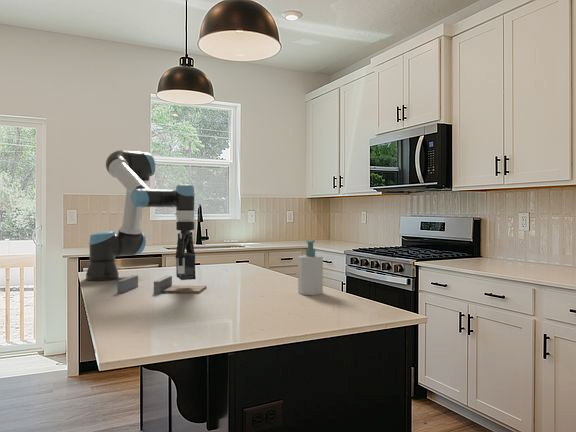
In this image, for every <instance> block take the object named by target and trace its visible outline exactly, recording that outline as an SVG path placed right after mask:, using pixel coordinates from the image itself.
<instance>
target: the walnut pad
mask: <svg viewBox="0 0 576 432" xmlns="http://www.w3.org/2000/svg"><path fill="white" fill-rule="evenodd" d="M206 289H207V285H176V284H175V285H173V284H172V286H171V287H169V288H167V289H165V290H164V291H163V292H162V293H163V294H193V295H194V294H200V293H202V292H203V291H204V290H206Z"/></svg>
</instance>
